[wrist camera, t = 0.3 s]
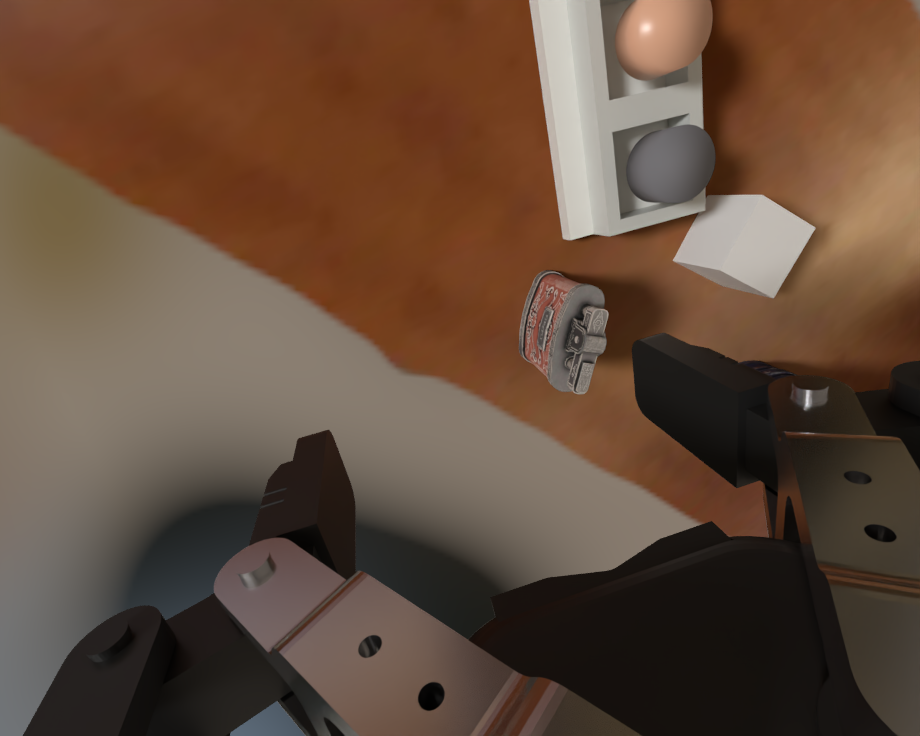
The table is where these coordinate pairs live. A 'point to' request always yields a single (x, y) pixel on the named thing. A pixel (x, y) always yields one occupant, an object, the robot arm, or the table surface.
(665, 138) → the charcoal button
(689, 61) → the terracotta button
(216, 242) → the table surface
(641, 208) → the button board
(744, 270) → the white cube
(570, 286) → the lighter
